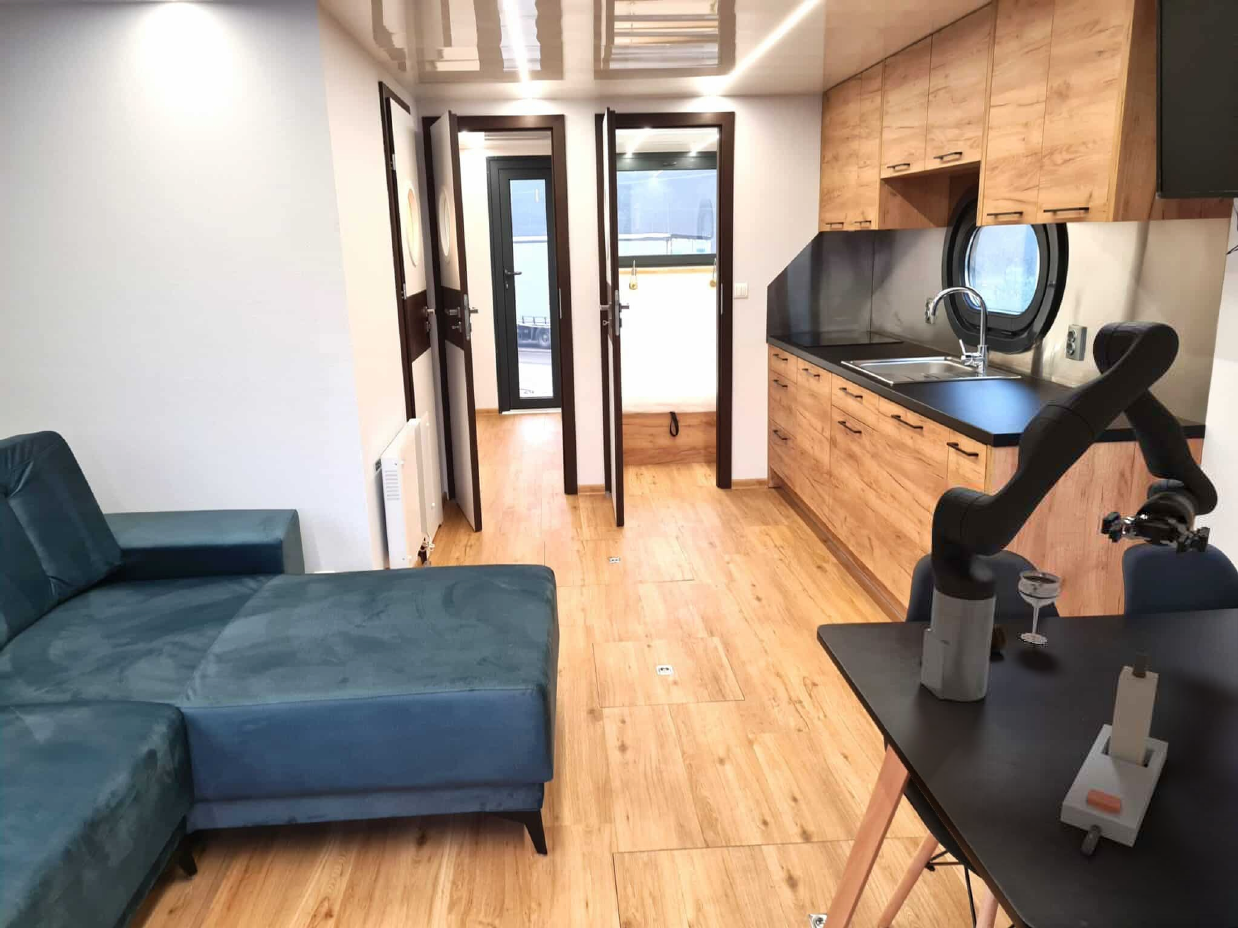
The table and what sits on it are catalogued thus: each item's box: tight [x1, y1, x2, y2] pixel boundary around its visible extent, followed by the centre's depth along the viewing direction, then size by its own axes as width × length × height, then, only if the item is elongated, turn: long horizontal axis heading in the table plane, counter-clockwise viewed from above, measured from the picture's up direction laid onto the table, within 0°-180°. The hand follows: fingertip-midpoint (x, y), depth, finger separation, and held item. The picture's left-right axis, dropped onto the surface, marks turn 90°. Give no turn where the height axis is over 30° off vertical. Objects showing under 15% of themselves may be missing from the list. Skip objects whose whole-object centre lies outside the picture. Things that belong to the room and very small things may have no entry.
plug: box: [1107, 651, 1159, 767], centre depth 120 cm, size 4×4×17 cm
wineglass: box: [1017, 570, 1062, 645], centre depth 161 cm, size 7×7×12 cm
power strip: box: [1059, 723, 1169, 856], centre depth 116 cm, size 29×8×3 cm, turn 141°
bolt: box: [921, 621, 1006, 656], centre depth 156 cm, size 6×5×15 cm
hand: (1146, 542), depth 134 cm, fingers open, 8 cm apart
